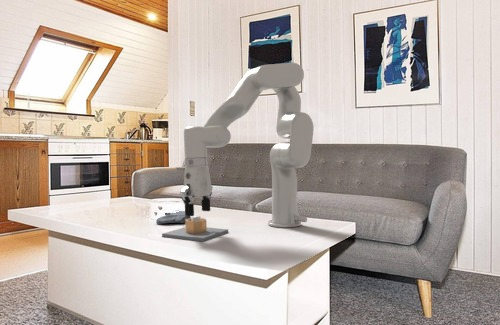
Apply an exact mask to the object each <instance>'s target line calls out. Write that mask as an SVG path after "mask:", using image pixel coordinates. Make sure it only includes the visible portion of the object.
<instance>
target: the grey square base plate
mask: <svg viewBox="0 0 500 325" xmlns="http://www.w3.org/2000/svg"><path fill="white" fill-rule="evenodd" d="M190 217H191V221H200V218H201V216H200V215H197V216H196V215H194V216H190ZM227 233H229V229H227V228H217V227H216V228H215V227H207V232H204V233H197V234H192V233H186V232H185V226H183V227H181V228H177V229H174V230H171V231H167V232H163V233H161V237H163V238H171V239H179V240H187V241H196V242H205V241H208V240H211V239H213V238H216V237H217V238H218V237H220V236H222V235H225V234H227Z"/></svg>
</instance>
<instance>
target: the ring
mask: <svg viewBox="0 0 500 325" xmlns="http://www.w3.org/2000/svg"><path fill="white" fill-rule="evenodd" d="M184 224H185V225H184V227H185V232H186V233H192V234H197V233H204V232H207V219H206V218H204V217H200V221H191V218H190V219H186V220H185V223H184Z"/></svg>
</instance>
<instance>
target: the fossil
mask: <svg viewBox="0 0 500 325" xmlns="http://www.w3.org/2000/svg"><path fill="white" fill-rule="evenodd" d="M178 211H179V210H178ZM191 217H192V216H186V215H185V211H179V212H176V213H173V212H167V213H166V214H165V215H163V216H160V217H159V218H158V217H157V219H156V224H157V225H163V224H173V223H174V224H185V220H186V219H190V218H191Z"/></svg>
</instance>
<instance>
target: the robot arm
mask: <svg viewBox="0 0 500 325" xmlns="http://www.w3.org/2000/svg"><path fill="white" fill-rule="evenodd" d="M304 79H305V72H304V69H303V67H302V66H301V65H300V64H298V63H296V62H284V63H274V64H272V63H270V64H263V65H260V66H257V67H254V68H251V69H250V70H248V71H247V72H246V73H245V74H244V76H243V77H242V78H241V80H240V81H239V82H238V84H237V85H236V87H235V88H234V90H233V91H232V92H231V94H230V95H229V96H228V98H227V99H226V100H225V101H224V102H223V103H222V104H220V106H219V107H218V108H217V109H216V110H215V111H214V112H213V113H212V114H211V116H210V117H209V118H208V119H207V121H206V123H204V125H203V126H197V125H196V126H187V127H185V128H184V129H183V140H184V141H183V143H184V146H183V147H184V165H185V166H184V167H185V168H184V177H183V188H182V189H181V191H179V193H180V197H181V200H182V201H183V205H184V209H185V215H186V216H190V217H193V216H195V205H194V203H193V202H194V200H195V198H202V199H201V211H202V212H211V199H212V197H211V196H212V194H213V191H212V190H213V187H214V186H213V185H212V182H211V174H210V169H209V166H208V148H214V149H215V148H223V147H226V146H227V145H228V144H229V143H230V141H231V137H232V135H231V132H230V130H229V129H228V127H229V126H231V124H232V123H234V122H235V121H237V120H239V119H241V118H242V117H244V116H245V115H246V114H247V113H248V112H249V111H250V110H251V108H252V107H253V105H254V103H255V102H256V101H257V100H258V98H259V96H260V95H261V94H262V92H263V91H267V90H270V89H271V90H273V91H274V92H275V95H276V96H277V98H278V99H277V100H278V108H277V118H276V127H275V128H276V129H275V130H276V133H277V135H278V136H279V137H280V138H282V139H289V141H282V142H278V143H275V144H274V145H273V146H272V147H271V149H270V151H269V161H270V162H269V163H270V168H271V220H268V221H267V224H268V226H270V227H274V228H296V227H300V226H301V225H302V223H307V222H308V217H307V216H301V215H300V212H298V176H297V171H296V169H298V168H299V169H300V168H304V167H305V166H306V165H307V164H309V161H310V159H311V154H312V148H313V139H314V122H313V119H312V118H311V116H310V115H309V114H308V113H306V112H302V111H301V110H302V100H301V99H302V98H301V95H300V93H299V91H298V89H297V88H296V87H297V86H299V85H301V83H302V82H303V81H304Z"/></svg>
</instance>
